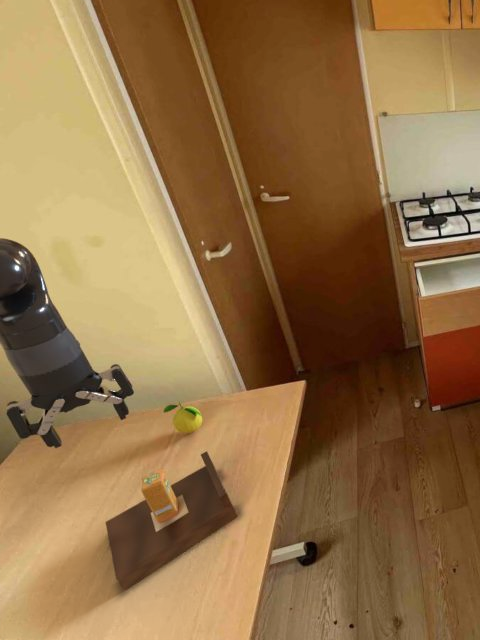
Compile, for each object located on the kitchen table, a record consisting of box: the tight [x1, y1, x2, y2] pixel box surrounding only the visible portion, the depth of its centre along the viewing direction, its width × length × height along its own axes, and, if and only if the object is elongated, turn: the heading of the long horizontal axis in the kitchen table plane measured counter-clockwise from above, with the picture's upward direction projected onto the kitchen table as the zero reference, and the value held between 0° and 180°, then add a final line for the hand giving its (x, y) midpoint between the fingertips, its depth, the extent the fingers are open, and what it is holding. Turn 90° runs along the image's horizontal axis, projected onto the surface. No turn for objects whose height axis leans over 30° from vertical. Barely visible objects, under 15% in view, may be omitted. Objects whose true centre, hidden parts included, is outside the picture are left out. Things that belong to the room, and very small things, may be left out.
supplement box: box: [140, 469, 179, 523], centre depth 80 cm, size 3×3×10 cm
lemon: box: [163, 400, 203, 434], centre depth 103 cm, size 7×6×10 cm
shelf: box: [105, 451, 239, 591], centre depth 83 cm, size 18×14×8 cm
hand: (92, 430), depth 75 cm, fingers open, 8 cm apart
